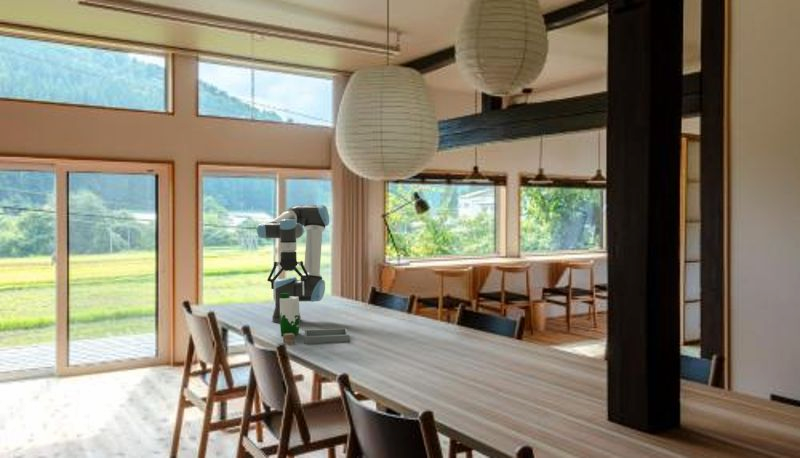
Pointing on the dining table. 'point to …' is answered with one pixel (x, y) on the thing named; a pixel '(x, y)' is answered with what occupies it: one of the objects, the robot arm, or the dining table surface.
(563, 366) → the dining table surface
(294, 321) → the soya milk
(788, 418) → the dining table surface
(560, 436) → the dining table surface
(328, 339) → the tray
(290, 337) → the walnut block
